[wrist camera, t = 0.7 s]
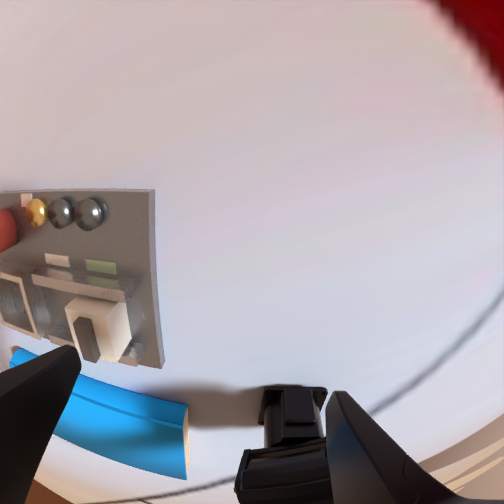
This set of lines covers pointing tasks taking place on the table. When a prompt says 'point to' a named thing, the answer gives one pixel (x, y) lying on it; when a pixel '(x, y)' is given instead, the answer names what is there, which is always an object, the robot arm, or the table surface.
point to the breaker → (98, 327)
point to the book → (124, 425)
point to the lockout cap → (7, 230)
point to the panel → (82, 263)
